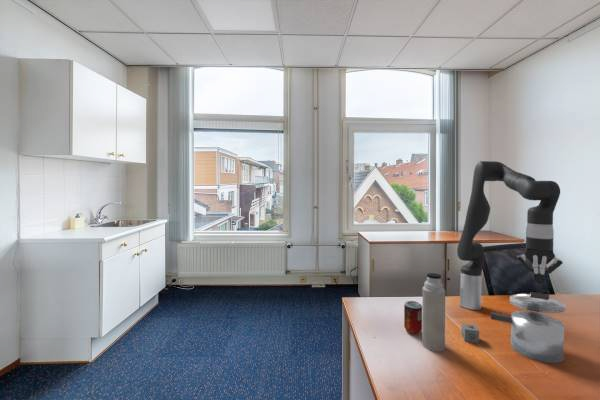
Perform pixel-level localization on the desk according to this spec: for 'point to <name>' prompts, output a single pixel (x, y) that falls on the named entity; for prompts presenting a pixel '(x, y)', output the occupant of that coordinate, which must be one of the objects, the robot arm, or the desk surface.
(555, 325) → the pressure cooker pot
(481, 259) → the robot arm
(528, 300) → the pressure cooker lid
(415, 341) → the desk surface
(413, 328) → the soda can
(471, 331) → the dice cube
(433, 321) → the thermos bottle
